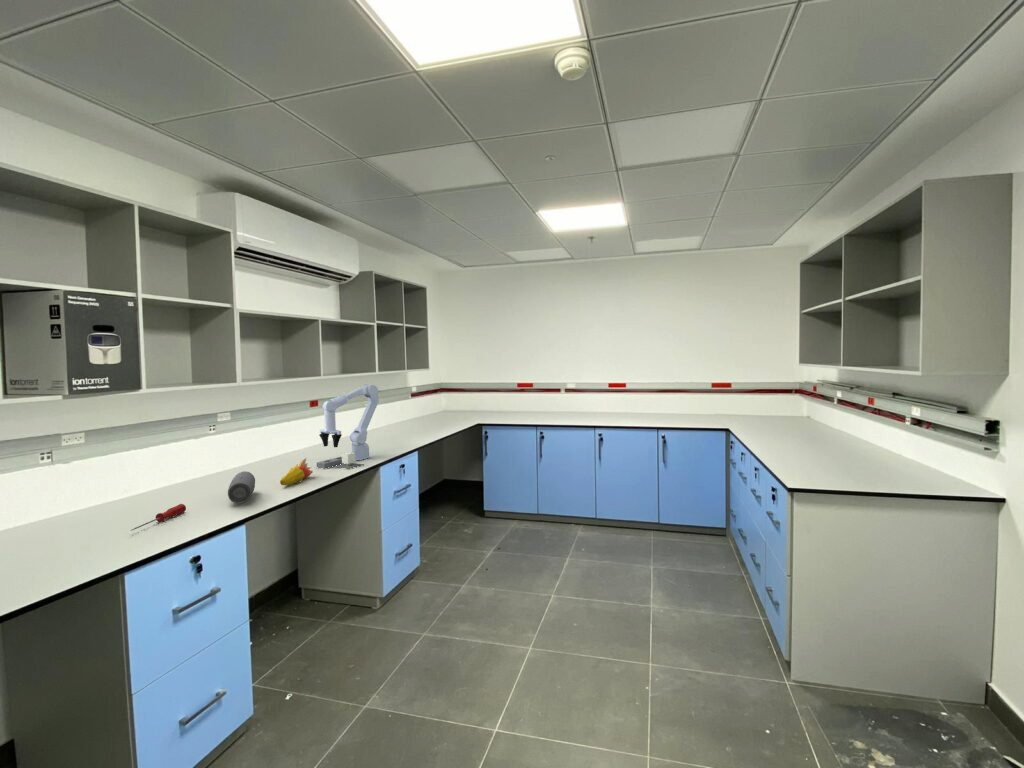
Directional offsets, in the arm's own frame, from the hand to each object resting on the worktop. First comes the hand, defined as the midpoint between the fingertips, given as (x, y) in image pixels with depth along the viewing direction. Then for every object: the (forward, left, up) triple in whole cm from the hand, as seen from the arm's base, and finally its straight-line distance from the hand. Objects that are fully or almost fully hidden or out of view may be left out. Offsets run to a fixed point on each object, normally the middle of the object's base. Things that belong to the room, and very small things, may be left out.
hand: (330, 446), depth 276 cm
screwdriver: (+101, +22, -10) cm, 103 cm away
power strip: (+3, +5, -9) cm, 11 cm away
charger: (+2, +15, -9) cm, 18 cm away
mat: (+2, +15, -9) cm, 18 cm away
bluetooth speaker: (+68, +21, -10) cm, 72 cm away
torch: (+38, +17, -10) cm, 43 cm away
